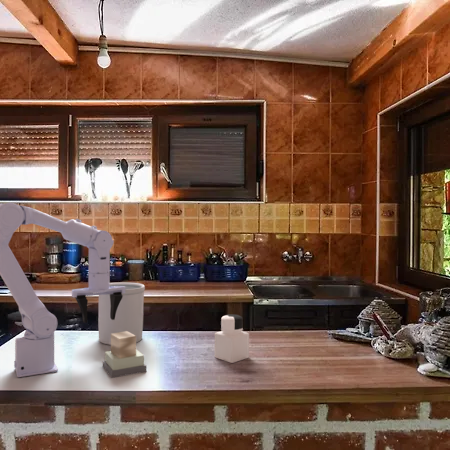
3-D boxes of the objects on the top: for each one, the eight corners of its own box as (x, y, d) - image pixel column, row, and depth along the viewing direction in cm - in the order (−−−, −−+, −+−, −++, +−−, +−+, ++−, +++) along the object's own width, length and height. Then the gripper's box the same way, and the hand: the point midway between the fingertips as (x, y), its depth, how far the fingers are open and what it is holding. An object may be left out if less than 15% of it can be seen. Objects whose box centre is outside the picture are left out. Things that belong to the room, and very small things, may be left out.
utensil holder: (147, 333, 151) (147, 282, 151) (140, 346, 136) (140, 289, 136) (104, 333, 151) (104, 281, 150) (92, 346, 136) (92, 289, 136)
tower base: (111, 381, 110) (111, 371, 110) (102, 370, 118) (102, 361, 118) (146, 375, 114) (146, 365, 114) (135, 364, 122) (135, 355, 122)
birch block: (119, 358, 112) (119, 338, 112) (110, 352, 117) (110, 333, 117) (136, 355, 115) (136, 335, 114) (127, 349, 120) (126, 331, 119)
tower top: (113, 370, 111) (112, 360, 111) (105, 361, 118) (105, 351, 118) (143, 365, 114) (143, 355, 114) (134, 356, 121) (134, 347, 121)
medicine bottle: (231, 352, 131) (231, 311, 131) (249, 357, 126) (249, 315, 126) (213, 357, 126) (214, 315, 126) (231, 363, 121) (232, 319, 121)
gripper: (75, 275, 118) (75, 326, 118) (128, 272, 125) (128, 320, 125) (70, 272, 124) (70, 321, 124) (121, 269, 131) (121, 315, 131)
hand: (99, 320), depth 125 cm, fingers open, 7 cm apart
